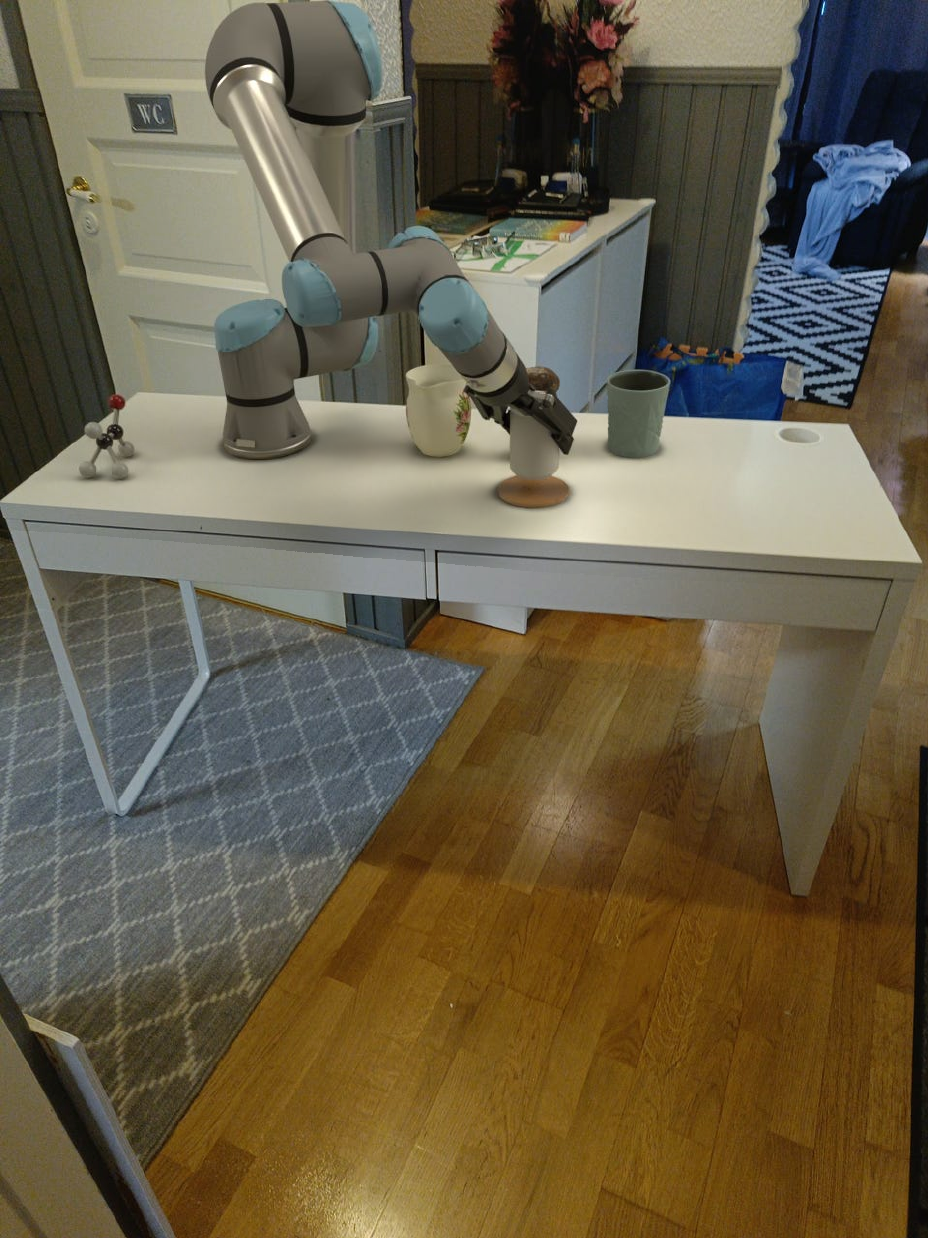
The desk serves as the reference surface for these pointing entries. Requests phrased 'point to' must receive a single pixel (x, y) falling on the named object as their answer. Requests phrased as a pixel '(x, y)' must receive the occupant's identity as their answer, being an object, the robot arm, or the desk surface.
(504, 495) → the coaster
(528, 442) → the can
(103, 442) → the molecular model
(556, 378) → the mushroom
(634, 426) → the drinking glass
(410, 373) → the pitcher
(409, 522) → the desk surface
